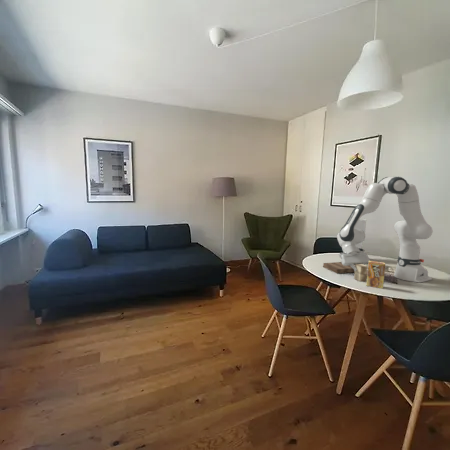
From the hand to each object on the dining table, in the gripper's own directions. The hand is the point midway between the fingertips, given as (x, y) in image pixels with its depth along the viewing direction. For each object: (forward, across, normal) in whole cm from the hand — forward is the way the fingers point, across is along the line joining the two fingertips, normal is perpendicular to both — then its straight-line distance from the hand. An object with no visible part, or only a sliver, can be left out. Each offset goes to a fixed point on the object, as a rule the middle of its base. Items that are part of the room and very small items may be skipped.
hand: (360, 270), depth 170 cm
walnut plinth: (-11, +1, +20) cm, 23 cm away
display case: (-26, +33, +35) cm, 54 cm away
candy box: (+13, 0, -4) cm, 14 cm away
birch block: (+5, 0, +4) cm, 6 cm away
